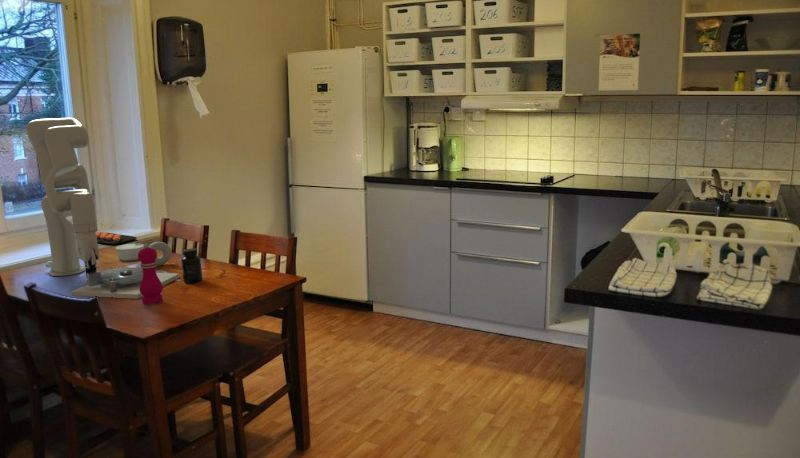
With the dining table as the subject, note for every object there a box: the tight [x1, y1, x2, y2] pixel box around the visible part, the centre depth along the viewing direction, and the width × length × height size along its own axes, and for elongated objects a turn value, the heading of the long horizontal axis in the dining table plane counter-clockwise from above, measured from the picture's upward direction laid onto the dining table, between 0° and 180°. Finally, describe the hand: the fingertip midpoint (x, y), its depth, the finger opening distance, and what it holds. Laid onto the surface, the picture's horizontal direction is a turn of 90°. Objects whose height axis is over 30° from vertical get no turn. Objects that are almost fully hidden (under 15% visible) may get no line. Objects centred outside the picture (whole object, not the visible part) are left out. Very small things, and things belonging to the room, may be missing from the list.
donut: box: [149, 241, 172, 267], centre depth 266 cm, size 10×4×10 cm, turn 126°
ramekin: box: [115, 243, 144, 262], centre depth 280 cm, size 11×11×5 cm
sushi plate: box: [96, 231, 137, 245], centre depth 311 cm, size 29×30×4 cm
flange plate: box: [86, 267, 143, 287], centre depth 237 cm, size 22×18×4 cm
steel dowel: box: [109, 281, 117, 292], centre depth 228 cm, size 2×2×4 cm
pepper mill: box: [137, 243, 164, 305], centre depth 218 cm, size 7×7×20 cm
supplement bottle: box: [180, 248, 203, 285], centre depth 242 cm, size 7×7×12 cm
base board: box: [71, 272, 180, 300], centre depth 239 cm, size 26×26×3 cm
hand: (92, 278), depth 233 cm, fingers closed
